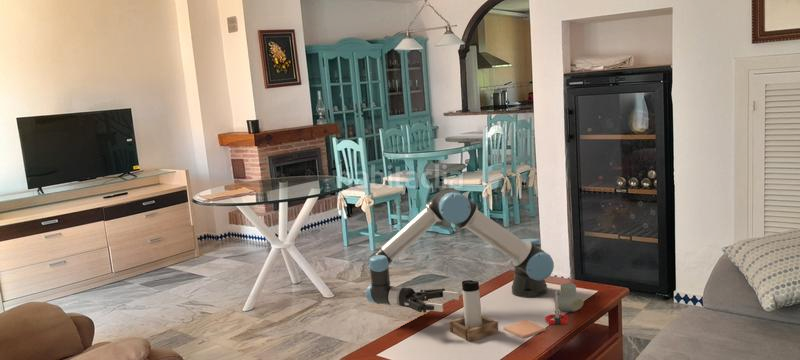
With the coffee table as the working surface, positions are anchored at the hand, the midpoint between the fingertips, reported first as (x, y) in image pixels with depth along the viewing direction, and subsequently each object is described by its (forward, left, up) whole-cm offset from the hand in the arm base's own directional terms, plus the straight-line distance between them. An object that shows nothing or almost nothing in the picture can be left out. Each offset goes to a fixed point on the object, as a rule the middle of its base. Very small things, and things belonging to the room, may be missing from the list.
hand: (450, 301), depth 243 cm
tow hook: (-34, +19, -11) cm, 41 cm away
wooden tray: (-4, +7, -11) cm, 14 cm away
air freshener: (-46, +14, -11) cm, 49 cm away
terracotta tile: (-19, +18, -11) cm, 29 cm away
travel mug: (-4, +7, -11) cm, 14 cm away
